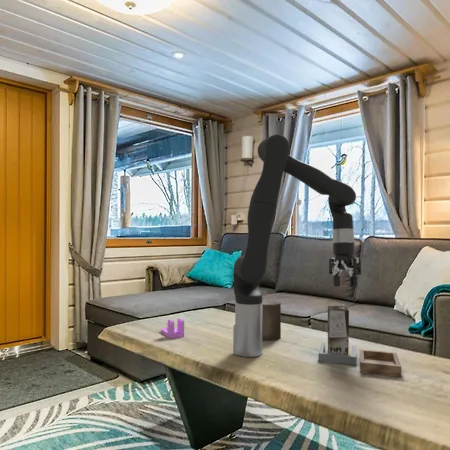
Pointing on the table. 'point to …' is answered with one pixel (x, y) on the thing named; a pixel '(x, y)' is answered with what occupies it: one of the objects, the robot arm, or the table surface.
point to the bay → (337, 356)
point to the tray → (380, 363)
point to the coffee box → (338, 330)
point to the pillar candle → (271, 320)
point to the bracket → (173, 332)
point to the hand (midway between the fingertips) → (345, 287)
